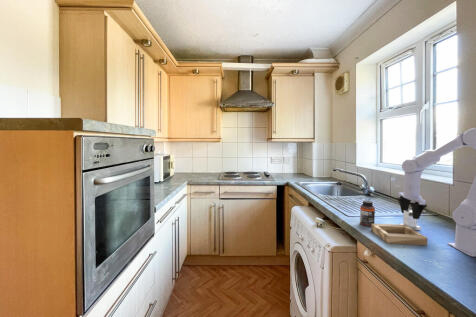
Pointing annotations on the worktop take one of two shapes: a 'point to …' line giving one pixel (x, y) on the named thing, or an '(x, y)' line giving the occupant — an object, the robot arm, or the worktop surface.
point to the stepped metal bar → (410, 220)
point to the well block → (398, 234)
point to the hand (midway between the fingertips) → (410, 215)
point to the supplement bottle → (367, 213)
